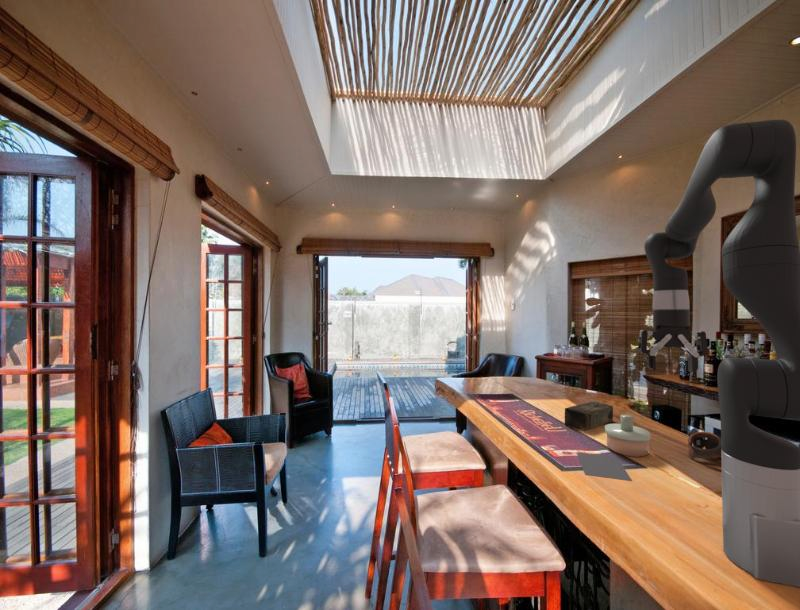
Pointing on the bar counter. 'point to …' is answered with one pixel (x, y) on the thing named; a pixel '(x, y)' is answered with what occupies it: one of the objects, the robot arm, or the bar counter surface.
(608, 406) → the beverage carton
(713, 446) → the pottery mug
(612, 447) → the bowl
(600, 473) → the mat
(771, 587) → the bar counter surface
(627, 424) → the lid
